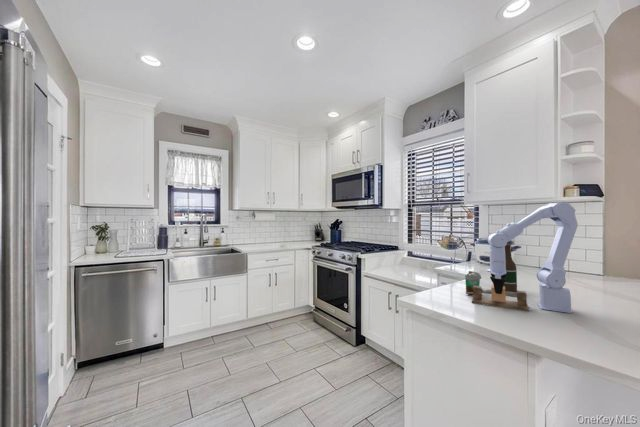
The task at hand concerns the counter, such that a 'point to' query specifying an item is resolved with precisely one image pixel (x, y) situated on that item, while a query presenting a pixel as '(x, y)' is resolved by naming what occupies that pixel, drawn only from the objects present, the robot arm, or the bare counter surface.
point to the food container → (472, 281)
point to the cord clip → (498, 295)
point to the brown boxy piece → (518, 305)
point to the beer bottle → (510, 271)
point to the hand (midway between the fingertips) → (498, 291)
